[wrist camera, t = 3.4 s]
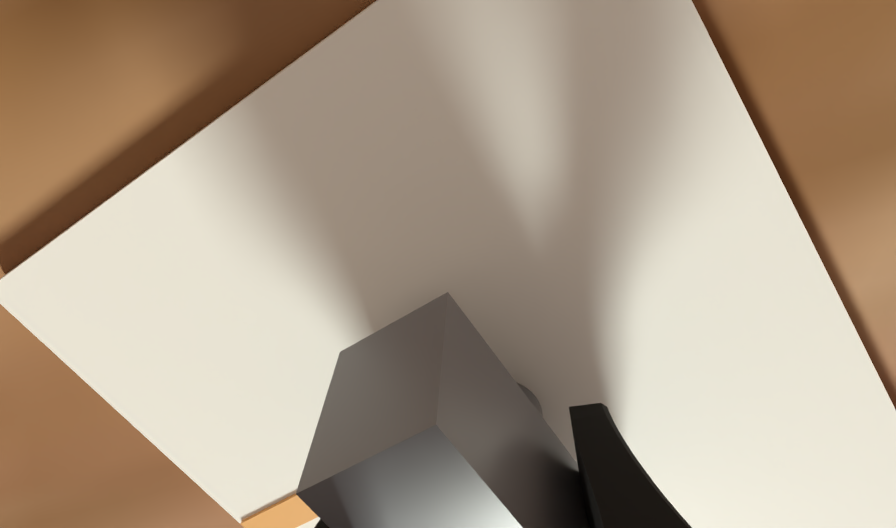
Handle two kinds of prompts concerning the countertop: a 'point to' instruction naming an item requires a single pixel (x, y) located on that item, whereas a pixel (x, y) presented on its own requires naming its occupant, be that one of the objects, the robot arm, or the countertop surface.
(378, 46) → the board
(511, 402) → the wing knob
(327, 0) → the countertop surface
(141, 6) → the countertop surface
